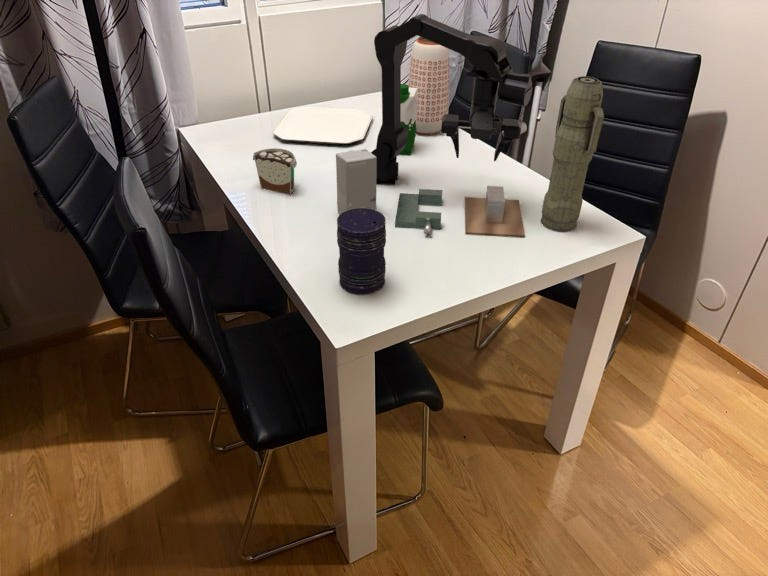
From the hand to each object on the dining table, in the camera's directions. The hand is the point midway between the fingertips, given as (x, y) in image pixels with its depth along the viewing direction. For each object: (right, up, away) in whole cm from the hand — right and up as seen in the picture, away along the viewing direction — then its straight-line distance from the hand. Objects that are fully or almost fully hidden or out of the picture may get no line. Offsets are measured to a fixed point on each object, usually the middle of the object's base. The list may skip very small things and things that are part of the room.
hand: (476, 159), depth 152 cm
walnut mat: (+4, -14, 0) cm, 15 cm away
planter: (-9, +19, +47) cm, 51 cm away
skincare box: (-30, -14, +1) cm, 33 cm away
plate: (-42, +19, +47) cm, 66 cm away
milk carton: (-18, +10, +34) cm, 39 cm away
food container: (-50, -5, +13) cm, 52 cm away
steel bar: (+4, -14, 0) cm, 15 cm away
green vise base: (-14, -14, 0) cm, 20 cm away
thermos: (+20, -16, -2) cm, 26 cm away
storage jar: (-28, -31, -23) cm, 47 cm away
